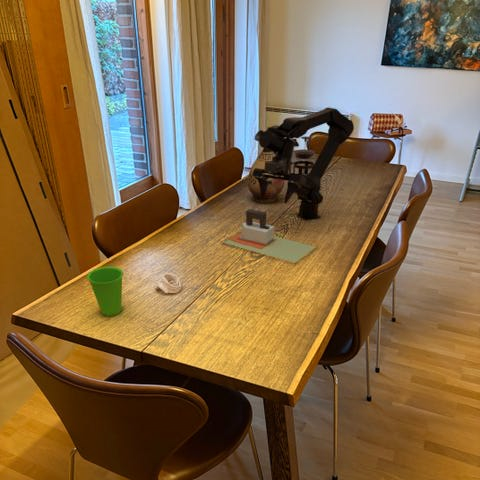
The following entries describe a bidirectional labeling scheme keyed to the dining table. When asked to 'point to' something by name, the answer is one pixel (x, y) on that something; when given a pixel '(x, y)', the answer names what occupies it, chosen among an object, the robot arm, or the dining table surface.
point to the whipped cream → (166, 285)
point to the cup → (107, 289)
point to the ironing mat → (276, 248)
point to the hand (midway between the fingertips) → (273, 201)
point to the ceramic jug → (274, 184)
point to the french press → (303, 155)
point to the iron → (256, 229)
